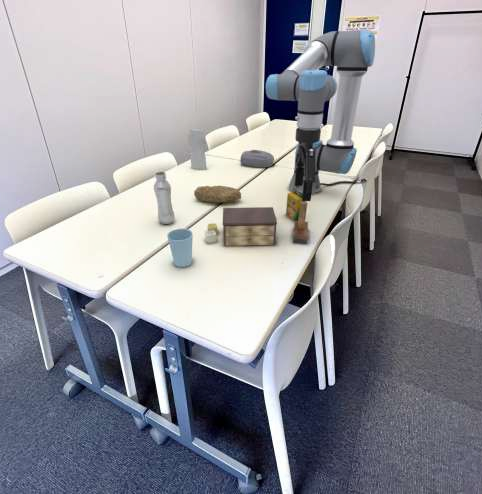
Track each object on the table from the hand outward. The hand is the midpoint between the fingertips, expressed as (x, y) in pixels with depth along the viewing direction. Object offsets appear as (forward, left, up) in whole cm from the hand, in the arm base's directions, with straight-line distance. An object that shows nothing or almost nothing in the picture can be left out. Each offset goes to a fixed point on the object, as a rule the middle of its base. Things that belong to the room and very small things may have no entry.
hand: (302, 192), depth 109 cm
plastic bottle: (+50, -13, -17) cm, 54 cm away
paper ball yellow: (+32, -3, -14) cm, 34 cm away
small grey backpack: (+8, -88, -17) cm, 90 cm away
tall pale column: (+43, -82, -17) cm, 94 cm away
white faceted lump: (+32, +3, -14) cm, 35 cm away
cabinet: (+18, 0, -17) cm, 25 cm away
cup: (+40, +16, -17) cm, 47 cm away
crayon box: (-1, -15, -17) cm, 23 cm away
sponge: (+30, -34, -17) cm, 48 cm away
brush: (-1, 0, -17) cm, 17 cm away
